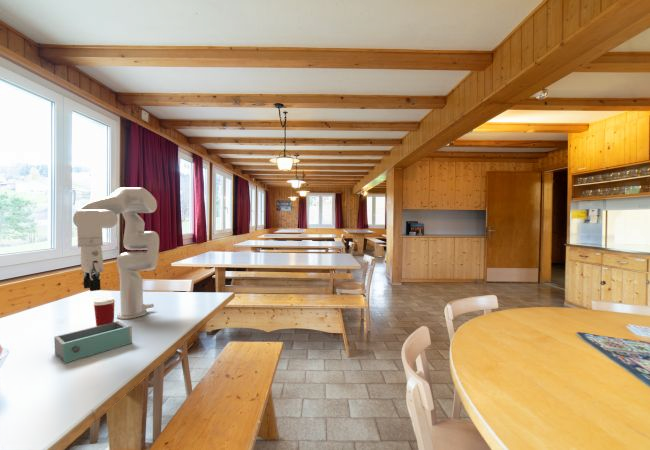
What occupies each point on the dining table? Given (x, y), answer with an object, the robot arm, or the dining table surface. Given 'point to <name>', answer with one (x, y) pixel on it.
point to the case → (83, 335)
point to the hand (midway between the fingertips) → (92, 288)
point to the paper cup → (104, 311)
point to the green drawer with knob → (96, 343)
